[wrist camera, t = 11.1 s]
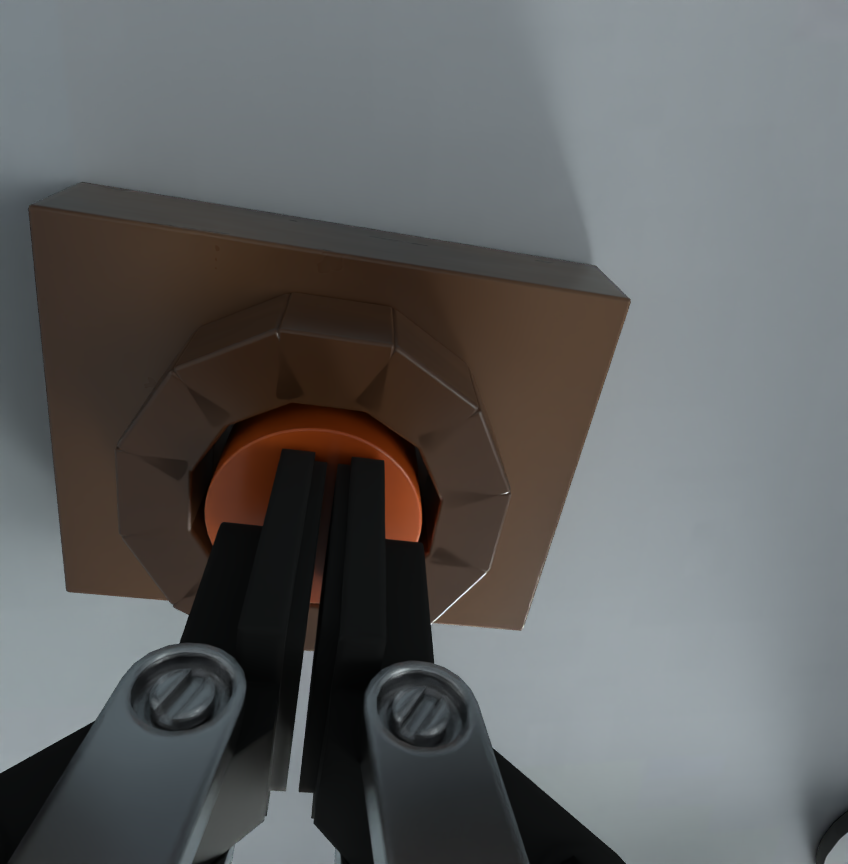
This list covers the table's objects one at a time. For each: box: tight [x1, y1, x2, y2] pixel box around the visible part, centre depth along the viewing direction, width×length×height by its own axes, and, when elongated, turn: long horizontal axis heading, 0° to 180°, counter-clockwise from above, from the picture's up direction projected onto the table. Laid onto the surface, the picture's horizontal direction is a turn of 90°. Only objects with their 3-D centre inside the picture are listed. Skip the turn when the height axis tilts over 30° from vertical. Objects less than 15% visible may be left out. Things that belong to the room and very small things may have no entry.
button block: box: [28, 182, 631, 651], centre depth 13 cm, size 10×8×4 cm
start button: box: [204, 403, 422, 603], centre depth 12 cm, size 4×4×2 cm
